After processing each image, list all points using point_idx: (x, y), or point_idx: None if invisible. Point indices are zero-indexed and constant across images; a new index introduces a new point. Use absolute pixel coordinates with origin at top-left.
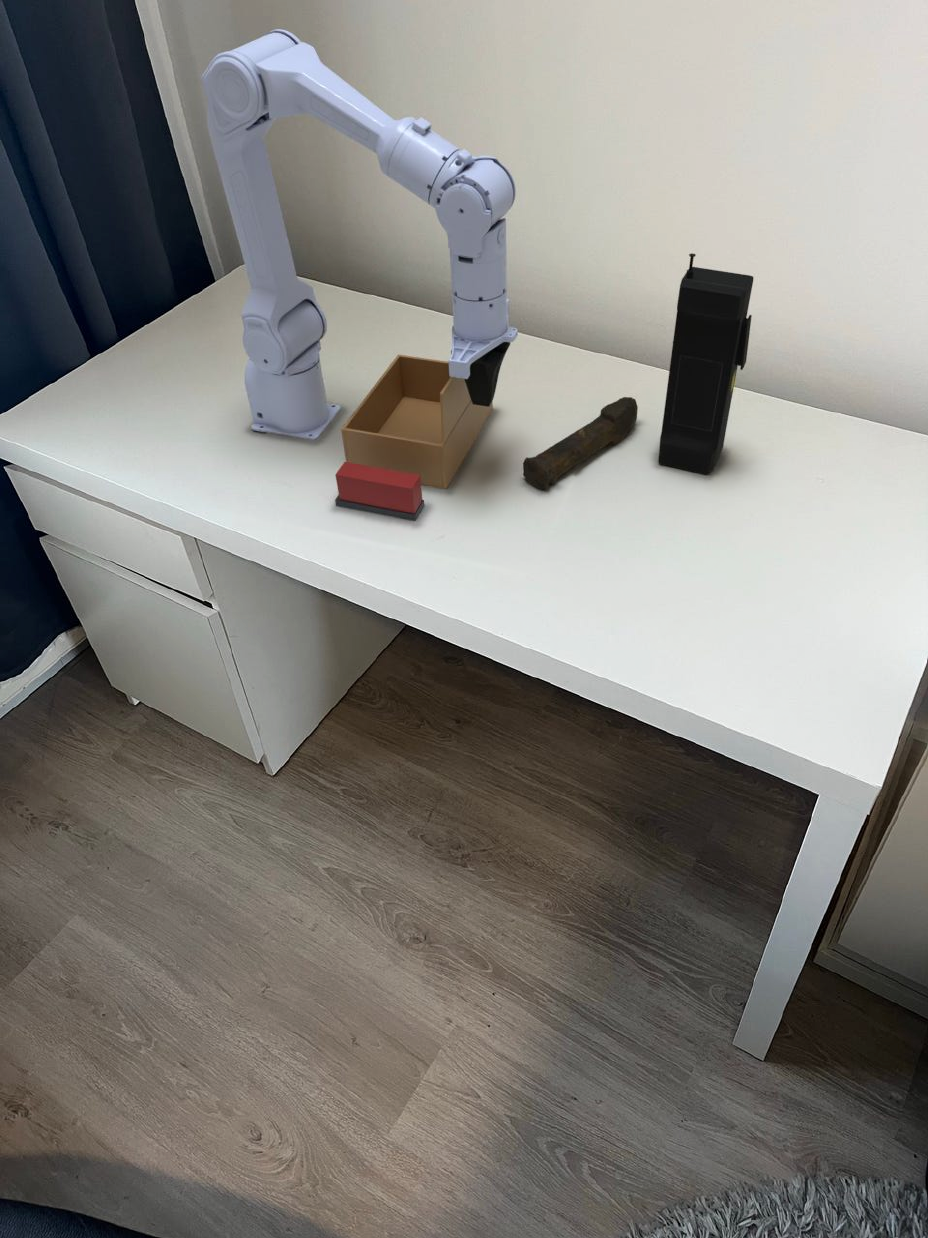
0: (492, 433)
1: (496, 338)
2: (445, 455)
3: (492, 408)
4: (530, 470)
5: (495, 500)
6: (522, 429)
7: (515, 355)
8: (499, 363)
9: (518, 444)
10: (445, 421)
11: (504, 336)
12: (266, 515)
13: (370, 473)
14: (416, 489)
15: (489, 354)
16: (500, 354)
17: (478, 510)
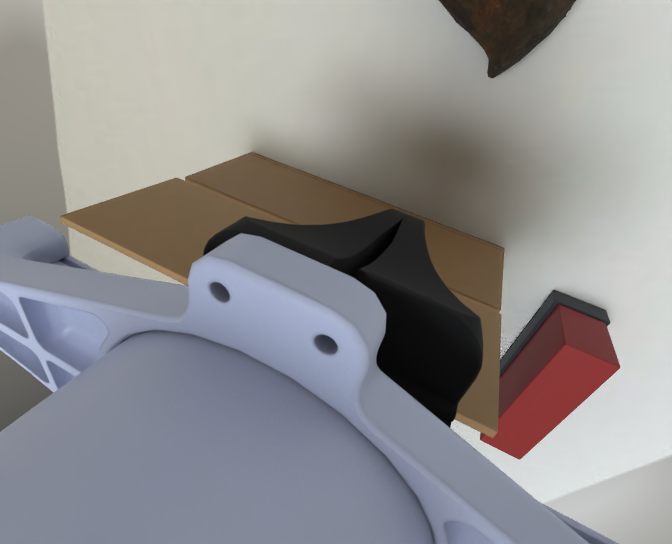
0: (315, 152)
1: (400, 467)
2: (491, 286)
3: (248, 154)
4: (527, 52)
5: (563, 145)
6: (297, 86)
7: (99, 110)
8: (376, 263)
9: (348, 94)
10: (486, 342)
11: (358, 399)
12: (516, 474)
13: (531, 418)
14: (593, 344)
15: (385, 356)
16: (388, 303)
17: (595, 186)
